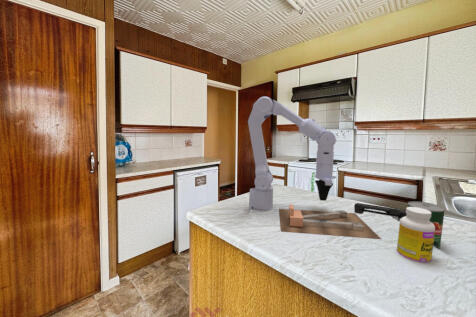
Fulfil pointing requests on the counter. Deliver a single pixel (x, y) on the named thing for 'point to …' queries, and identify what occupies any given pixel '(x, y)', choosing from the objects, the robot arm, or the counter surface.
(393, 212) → the door handle
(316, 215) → the tong arm
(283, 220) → the walnut board
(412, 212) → the supplement bottle
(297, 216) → the sleeve
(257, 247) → the counter surface
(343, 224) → the fixed tong arm
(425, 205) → the canned tomato
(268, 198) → the robot arm
